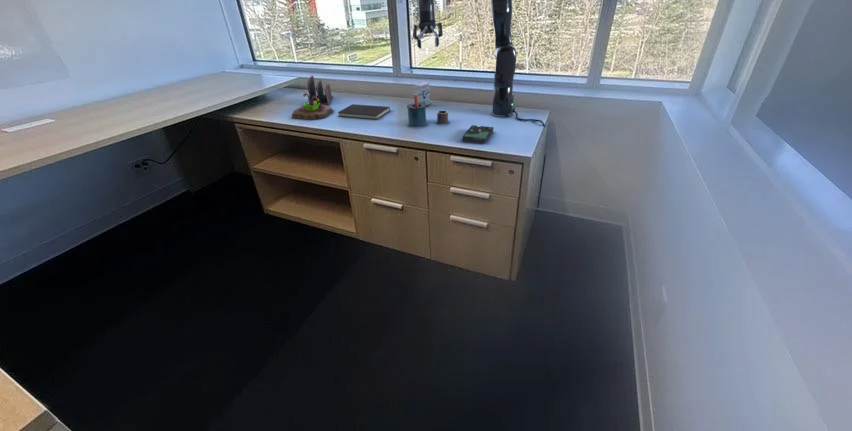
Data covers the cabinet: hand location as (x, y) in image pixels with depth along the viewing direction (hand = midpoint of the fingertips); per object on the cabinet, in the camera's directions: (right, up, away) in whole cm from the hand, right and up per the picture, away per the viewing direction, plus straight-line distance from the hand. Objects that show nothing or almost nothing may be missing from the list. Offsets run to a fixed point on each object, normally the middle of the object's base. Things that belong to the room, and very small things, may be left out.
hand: (428, 47), depth 182 cm
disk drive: (+22, -47, -16) cm, 54 cm away
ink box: (-3, -19, +30) cm, 36 cm away
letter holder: (-64, -12, +46) cm, 80 cm away
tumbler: (-5, -37, +1) cm, 38 cm away
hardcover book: (-34, -26, +21) cm, 48 cm away
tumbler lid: (-6, -30, -3) cm, 30 cm away
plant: (-63, -26, +24) cm, 72 cm away
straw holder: (+7, -36, +2) cm, 37 cm away
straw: (-5, -37, +1) cm, 37 cm away
